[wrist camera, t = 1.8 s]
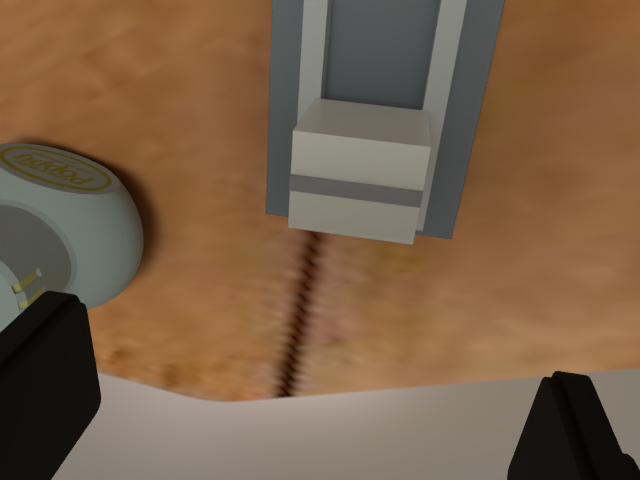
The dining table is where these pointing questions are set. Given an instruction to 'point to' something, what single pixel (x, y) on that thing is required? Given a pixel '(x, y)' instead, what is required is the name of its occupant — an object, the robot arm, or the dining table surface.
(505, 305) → the dining table surface
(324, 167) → the fader cap
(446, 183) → the slider panel
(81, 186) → the air freshener
